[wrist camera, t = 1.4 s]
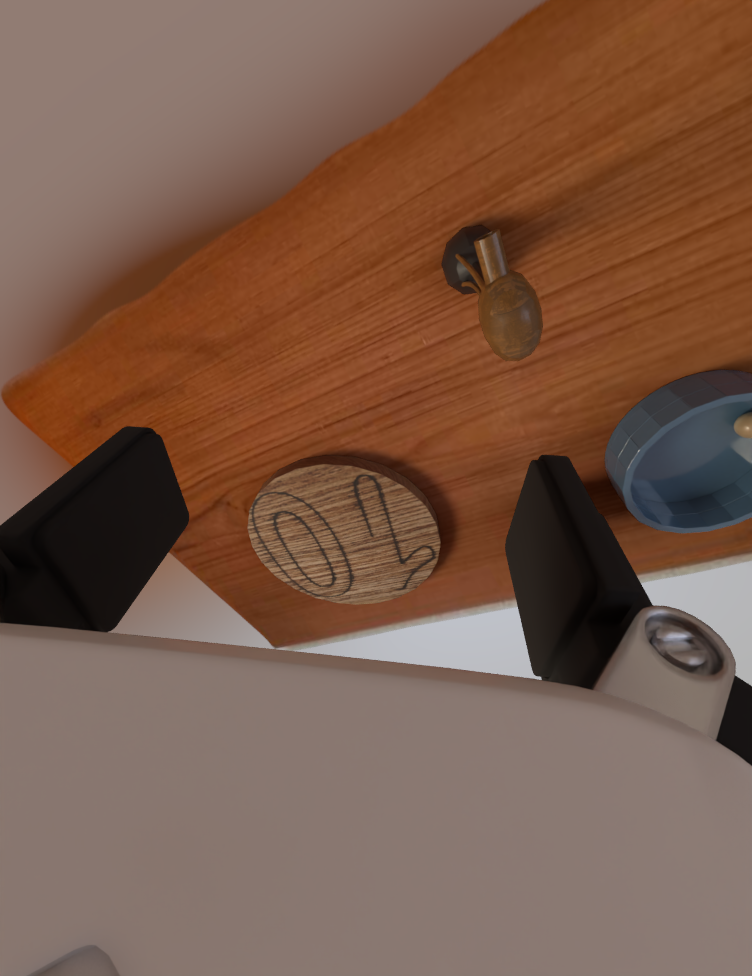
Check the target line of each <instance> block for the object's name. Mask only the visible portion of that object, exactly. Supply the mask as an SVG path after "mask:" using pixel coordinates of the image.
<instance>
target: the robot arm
mask: <svg viewBox="0 0 752 976" xmlns="http://www.w3.org/2000/svg"><path fill="white" fill-rule="evenodd" d="M188 521H189V513H188V510H187V507H186V504H185V501H184V498H183V496H182V493H181V490H180V487H179V484H178V482H177V479H176V476H175V473H174V470H173V468H172V465H171V462H170V459H169V456H168V454H167V451H166V448H165V445H164V442H163V440H162V438H161V436H160V435H158V434H156V433H155V431H154V430H153V429H151V428H145V427H130V426H128V427H124V428H122V429H121V430H120V431H119V432H117V433H116V434H115V435H114V436H112V437H111V438H110V439H109V440H107V441H106V442H105V443H103V444H102V445H101V446H100V447H98V448H97V449H96V450H95V451H93V452H92V453H91V454H90V455H88V456H87V457H86V458H85V459H83V460H82V461H81V462H80V463H78V464H77V465H76V466H75V467H73V468H72V469H71V470H70V471H68V472H67V473H66V474H64V475H63V476H62V477H61V478H59V479H58V480H57V481H56V482H55V483H53V484H52V485H51V486H50V487H48V488H47V489H46V490H44V491H43V492H42V493H41V494H39V495H38V496H37V497H36V498H34V499H33V500H32V501H30V502H29V503H28V504H27V505H25V506H24V507H23V508H22V509H21V510H19V511H18V512H17V513H16V514H14V515H13V516H12V517H11V518H9V519H8V520H7V521H6V522H4V523H3V524H2V525H0V976H752V686H751V685H749V684H747V683H746V682H744V681H743V680H741V679H740V678H738V677H737V676H735V666H736V663H735V659H734V657H733V655H732V652H731V650H730V648H729V647H728V646H727V645H726V643H725V642H724V640H723V639H722V638H721V637H720V636H719V635H718V634H717V633H716V632H715V631H714V630H713V629H712V628H711V627H709V626H708V625H706V624H705V623H704V622H702V621H701V620H699V619H697V618H696V617H694V616H692V615H690V614H688V613H686V612H684V611H681V610H679V609H675V608H671V607H667V606H653V605H652V603H651V602H650V600H649V598H648V596H647V594H646V592H645V590H644V589H643V587H642V585H641V583H640V581H639V580H638V578H637V576H636V574H635V572H634V570H633V569H632V567H631V565H630V563H629V561H628V560H627V558H626V556H625V554H624V552H623V551H622V549H621V547H620V545H619V543H618V541H617V540H616V538H615V536H614V534H613V532H612V531H611V529H610V527H609V525H608V523H607V521H606V520H605V518H604V517H603V516H602V514H600V513H598V511H597V509H596V507H595V506H594V504H593V502H592V500H591V498H590V496H589V495H588V493H587V491H586V489H585V487H584V485H583V483H582V482H581V480H580V478H579V476H578V474H577V472H576V470H575V469H574V467H573V465H572V463H571V461H570V459H569V458H568V457H566V456H554V455H541V456H540V457H539V459H538V460H532V461H531V463H530V465H529V468H528V471H527V474H526V478H525V481H524V484H523V487H522V490H521V494H520V497H519V500H518V503H517V506H516V510H515V513H514V516H513V519H512V522H511V526H510V529H509V532H508V535H507V538H506V544H505V550H506V556H507V561H508V565H509V570H510V574H511V578H512V583H513V587H514V592H515V596H516V600H517V605H518V609H519V614H520V618H521V622H522V627H523V631H524V636H525V640H526V645H527V649H528V654H529V658H530V662H531V667H532V670H533V673H534V675H536V676H540V677H541V678H542V680H537V679H530V678H523V677H514V676H507V675H499V674H491V673H483V672H475V671H467V670H458V669H451V668H443V667H434V666H424V665H415V664H406V663H396V662H387V661H378V660H369V659H360V658H351V657H341V656H332V655H323V654H314V653H304V652H295V651H285V650H276V649H266V648H255V647H246V646H236V645H226V644H218V643H208V642H198V641H188V640H179V639H168V638H159V637H148V636H138V635H127V634H118V633H108V631H111V630H113V629H114V628H115V627H116V626H117V625H118V623H119V622H120V620H121V619H122V617H123V616H124V615H125V613H126V612H127V610H128V609H129V607H130V606H131V604H132V603H133V602H134V600H135V599H136V597H137V596H138V595H139V593H140V592H141V590H142V589H143V588H144V586H145V585H146V583H147V582H148V580H149V579H150V577H151V576H152V575H153V573H154V572H155V570H156V569H157V568H158V566H159V565H160V563H161V562H162V560H163V559H164V558H165V556H166V555H167V553H168V552H169V551H170V549H171V548H172V546H173V545H174V543H175V542H176V541H177V539H178V538H179V536H180V535H181V533H182V532H183V531H184V529H185V528H186V526H187V524H188Z"/></svg>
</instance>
